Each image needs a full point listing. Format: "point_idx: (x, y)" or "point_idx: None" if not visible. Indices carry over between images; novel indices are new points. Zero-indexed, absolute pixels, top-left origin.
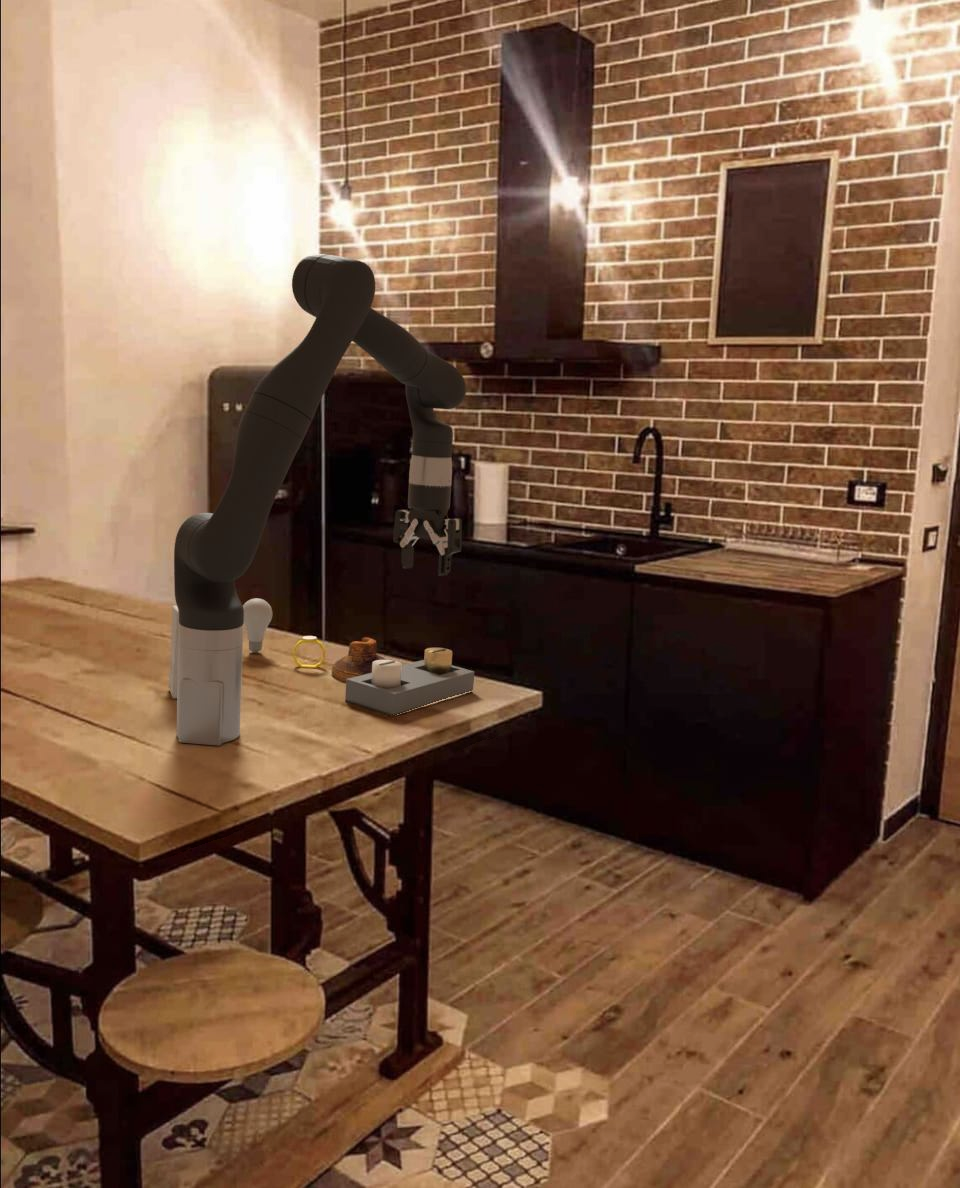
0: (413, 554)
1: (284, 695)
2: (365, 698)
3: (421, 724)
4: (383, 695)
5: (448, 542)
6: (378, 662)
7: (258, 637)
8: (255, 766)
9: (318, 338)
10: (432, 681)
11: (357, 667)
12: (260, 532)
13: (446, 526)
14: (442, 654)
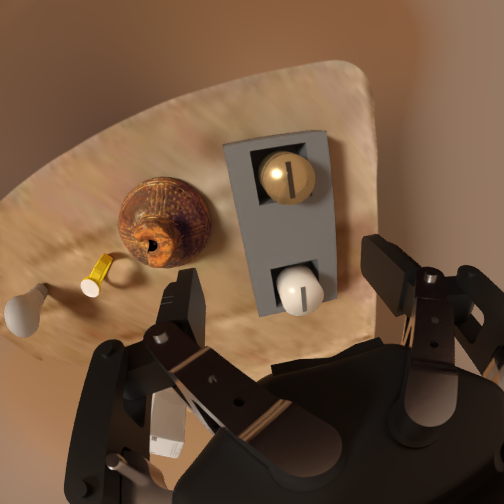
0: (189, 297)
1: (205, 337)
2: None
3: (359, 270)
4: None
5: (462, 342)
6: (293, 306)
7: (41, 301)
8: None
9: None
10: (329, 227)
11: (186, 257)
12: None
13: (479, 378)
14: (311, 190)
